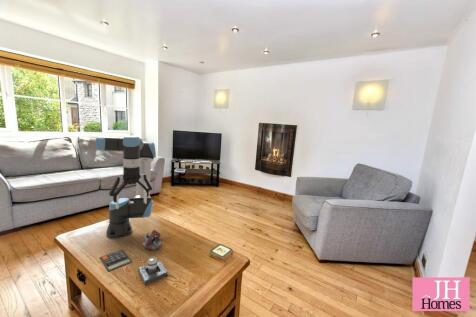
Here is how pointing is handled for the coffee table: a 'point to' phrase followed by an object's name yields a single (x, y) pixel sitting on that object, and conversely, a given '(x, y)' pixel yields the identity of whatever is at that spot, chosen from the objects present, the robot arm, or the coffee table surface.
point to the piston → (152, 265)
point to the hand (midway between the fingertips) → (131, 205)
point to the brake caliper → (152, 240)
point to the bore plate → (152, 277)
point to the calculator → (115, 260)
